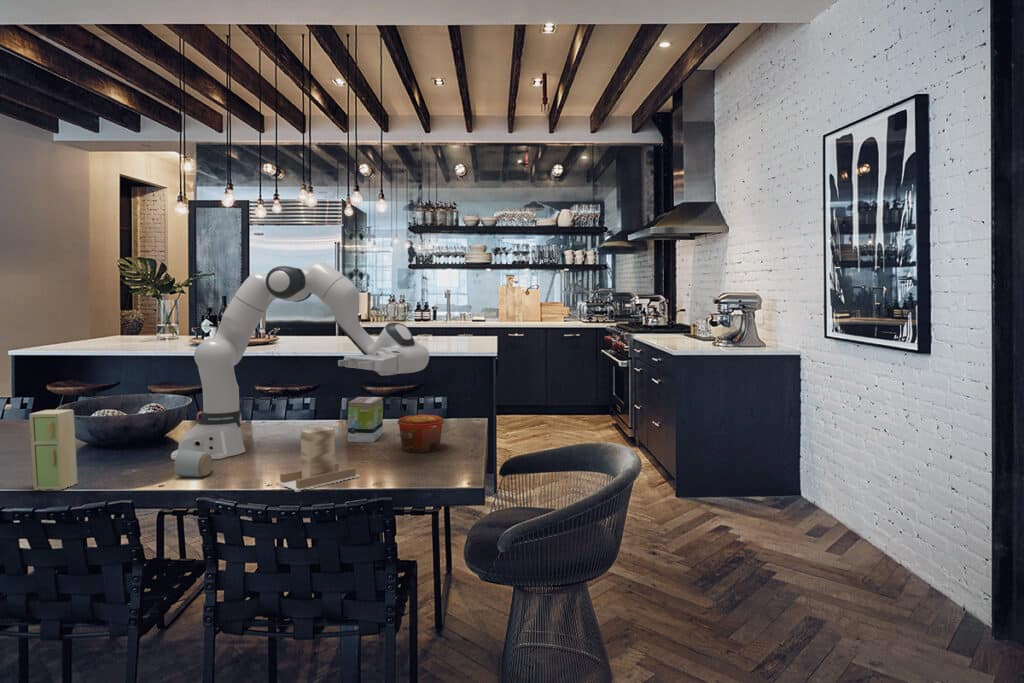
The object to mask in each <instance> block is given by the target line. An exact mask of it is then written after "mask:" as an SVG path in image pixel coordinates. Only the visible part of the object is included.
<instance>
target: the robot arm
mask: <svg viewBox="0 0 1024 683" xmlns="http://www.w3.org/2000/svg"><path fill="white" fill-rule="evenodd" d="M312 294H313V295H314V296H316V297H317V298H318V299H319V300H321V301H322V302H323V303H324V304H325V305H326V306H327V307H328V308H329V310H330V311H331V313H332V315H333V316H334V318H335V323H336V325H337V326H338V327H339V328H340V329H341V331H342V332H343V333H344V335H345V336H346V337H347V338H348V339H349V340H350V341H351V342H352V344H354V345H355V347H357V349H358V350H359V351H360V352H361V353H362V354H350V355H344V357H343V359H339V360H337V365H338V367H345V368H349V369H350V368H352V369H358V370H360V369H361V370H366V371H374V372H376V373H377V375H379V376H393V375H397V374H410V373H416V372H420V371H422V370H424V369H426V367H427V366H428V363H429V360H430V353H429V350H428V349H427V348H428V347H425V346H424V345H422V344H420V343H418V342H417V341H416V339H414V337H413V334H412V332H411V331H410V329H409V328H408V326H406V324H404V323H400V322H388V323H387V324H386V325H385V327H384V328H383V329H382V330H381V332H380V333H379V336H378V337H377V339H376V340H374V339H373V337H371V335H370V334H369V333H368V332H367V331H366V330H365V328H363V327H362V325H361V323H360V320H359V306H360V292H359V289H358V287H357V286H356V285H355V284H354V283H353V282H352V281H351V280H350V279H349V278H348V277H346V276H345V275H344V274H343V273H342V272H340V271H339V270H337V269H336V268H334V267H332V266H331V265H329V264H327V263H325V262H323V261H315V262H314V263H312V264H311V265H309V266H308V267H307V268H306V269H305V270H303V269H301V268H299V267H294V266H293V267H292V266H287V265H281V266H279V265H278V266H276V267H274V268H272V269H271V270H269V271H268V272H267V273H265V272H260V271H256V272H252V273H251V274H250V275H249V276H248V277H247V278H246V279H245V280H244V281H243V282H242V283H241V285H240V287H239V288H238V289H237V291H236V292H235V294H234V295H233V297H232V299H231V300H230V302H229V304H228V305H227V307H226V308H225V310H224V312H223V313H222V316H221V321H220V323H219V325H218V328H217V331H216V333H215V334H214V335H213V337H211V338H206V339H205V340H203V341H201V342H200V343H199V344H198V345H197V347H196V348H195V350H194V354H193V358H194V362H195V364H196V365H197V370H198V373H199V377H200V378H199V379H200V381H201V382H200V383H201V387H202V388H201V389H202V404H203V405H202V410H203V411H198V412H196V423H197V424H195V425H194V426H193V427H191V428H190V429H189V430H187V431H186V432H185V433H184V434H182V436H181V437H180V439H179V442H178V446H177V447H178V448H177V449H176V450H174V451H172V452H171V454H170V458H171V460H174V461H175V459H176V456H177V455H178V453H179V452H180V451H182V450H190V451H197V452H205V453H208V454H210V455H211V457H212V460H220V459H224V458H228V457H232V456H237V455H240V454H243V453H245V452H246V451H247V450H246V447H245V444H244V442H243V441H244V440H243V437H242V436H243V435H242V430H241V429H242V428H241V427H242V410H241V409H240V391H239V390H240V387H239V385H238V382H237V378H236V374H235V366H237V364H239V363H240V361H241V360H242V358H243V357H244V354H245V352H246V350H247V347H248V345H249V343H250V341H251V339H252V337H253V334H254V333H255V330H256V328H257V327H258V326H259V324H260V322H261V320H262V319H263V317H264V315H265V314H266V312H267V310H268V308H270V305H271V304H272V302H273V301H274V300H276V299H280V300H282V301H286V302H293V303H294V302H295V303H299V302H304V301H306V300H308V299H309V298H310V297H311V296H312Z"/></svg>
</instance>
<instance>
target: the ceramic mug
mask: <svg viewBox="0 0 1024 683" xmlns="http://www.w3.org/2000/svg"><path fill="white" fill-rule="evenodd" d="M213 462H214V459H212V457H211V455H210V454H208V453H205V452H197V451H190V450H182V451H180V452H179V453H178V455H177V456H176V459H175V460H174V464H173V469H174V472H175V473H174V474H175V475H176V476H177V477H181V478H182V477H183V478H204V476H205V477H207V476H208V475H209V474H210V473H211V472H213V470H214V465H213V464H214V463H213Z"/></svg>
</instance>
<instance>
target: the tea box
mask: <svg viewBox="0 0 1024 683" xmlns="http://www.w3.org/2000/svg"><path fill="white" fill-rule="evenodd" d="M383 399H384V398H383V396H382V397H381V396H378V397H377V396H357V397H355V398H354V399H352V400H350V401H348V402H347V442H348V443H374V442H375V441H376V440H377V439H379V438H380V437H381V436H382V435H383V431H384V430H383V429H384V427H383V424H384V422H383V420H384V416H383V415H384V400H383Z"/></svg>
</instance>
